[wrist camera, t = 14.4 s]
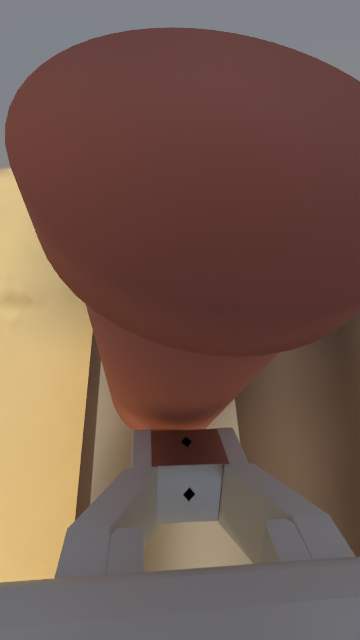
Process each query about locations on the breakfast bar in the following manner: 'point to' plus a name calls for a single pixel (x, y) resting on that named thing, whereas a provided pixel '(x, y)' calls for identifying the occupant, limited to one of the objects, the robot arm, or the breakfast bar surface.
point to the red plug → (193, 207)
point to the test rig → (253, 445)
